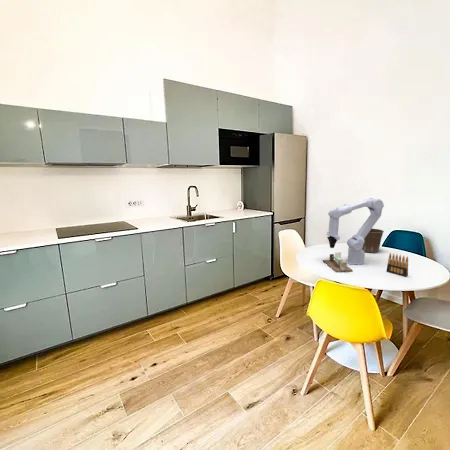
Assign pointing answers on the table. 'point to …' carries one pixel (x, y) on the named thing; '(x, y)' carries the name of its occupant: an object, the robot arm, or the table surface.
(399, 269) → the ammunition clip
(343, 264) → the brown plate
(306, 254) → the table surface
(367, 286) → the table surface
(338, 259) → the green sliding block
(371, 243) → the plant pot
